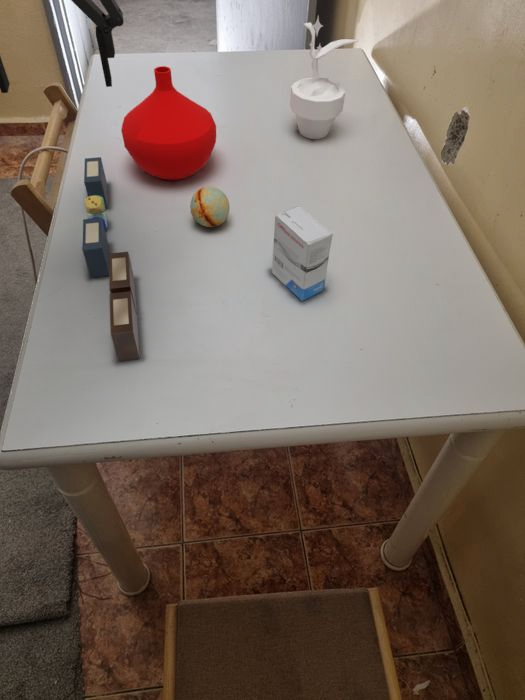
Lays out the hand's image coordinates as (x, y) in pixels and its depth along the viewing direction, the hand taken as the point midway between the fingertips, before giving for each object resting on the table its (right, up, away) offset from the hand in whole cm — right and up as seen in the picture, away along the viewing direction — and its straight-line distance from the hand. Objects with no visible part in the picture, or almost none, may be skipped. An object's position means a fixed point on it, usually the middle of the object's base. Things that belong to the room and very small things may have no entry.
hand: (58, 85), depth 71 cm
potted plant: (+40, +13, +47) cm, 63 cm away
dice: (-2, -14, +23) cm, 27 cm away
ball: (+18, -13, +25) cm, 34 cm away
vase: (+10, +2, +37) cm, 38 cm away
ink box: (+34, -25, +16) cm, 45 cm away
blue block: (-2, -14, +23) cm, 27 cm away
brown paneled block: (+7, -31, +9) cm, 33 cm away
